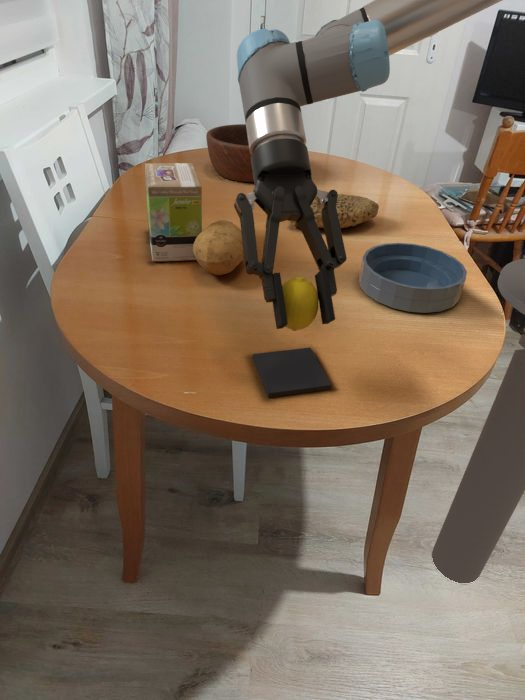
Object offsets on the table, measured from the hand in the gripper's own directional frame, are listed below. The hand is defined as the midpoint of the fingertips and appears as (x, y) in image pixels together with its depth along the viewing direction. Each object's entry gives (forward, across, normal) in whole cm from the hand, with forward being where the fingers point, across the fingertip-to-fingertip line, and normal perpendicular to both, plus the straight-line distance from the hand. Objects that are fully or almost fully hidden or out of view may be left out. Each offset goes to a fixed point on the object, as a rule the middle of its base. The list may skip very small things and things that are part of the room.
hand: (305, 323), depth 64 cm
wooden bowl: (-59, -16, -75) cm, 97 cm away
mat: (+5, 0, -10) cm, 11 cm away
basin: (-9, -29, -24) cm, 39 cm away
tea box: (-27, +11, -42) cm, 51 cm away
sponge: (-31, -26, -46) cm, 62 cm away
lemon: (0, 0, -5) cm, 5 cm away
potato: (-18, +4, -34) cm, 38 cm away
